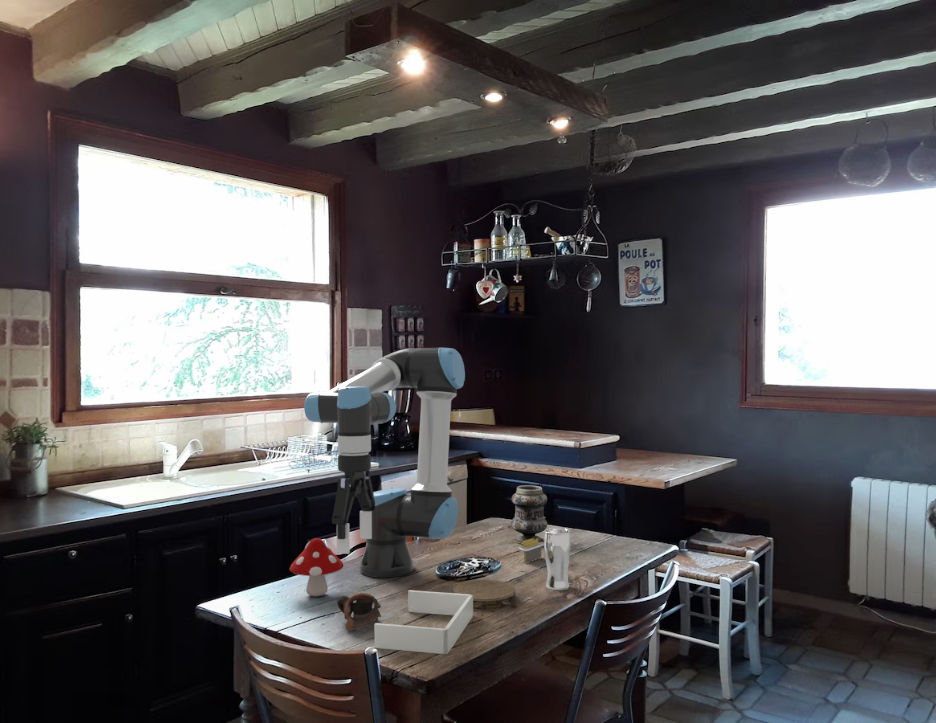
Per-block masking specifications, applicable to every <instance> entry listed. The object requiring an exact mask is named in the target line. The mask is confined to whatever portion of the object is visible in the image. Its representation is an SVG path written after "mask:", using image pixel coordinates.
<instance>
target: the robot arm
mask: <svg viewBox="0 0 936 723" xmlns="http://www.w3.org/2000/svg"><path fill="white" fill-rule="evenodd" d="M465 378H466V372H465V363H464V361H463V358H462V355H461V354H460V353H459V352H458V351H457V350H456V349H455V348H450V347H441V346H440V347H421V348H417V347H416V348H415V347H414V348H413V347H409V348H408V347H407V348H404V349H403V348H402V349H400V350H397V351H394V352H392V353H389V354H387V355H384V356H382V357H380V358H379V359H377V360H375V362H373V363H372V365H371V367H370V368H368V369H366V370H364V371H363V372H361V373H358V374H357V375H355V376H354V377H352V378H350V379H348V380H346V381H344V382H343V383H341V384H339V385H337V386H335V387H333V388H331V389H330V390H328V391H324V392H322V391H318V392H310V393H309V394H308V395H307V396H306V398H305V401H304V404H303V409H304V414H305V417H306V419H307V420H309V422H312V423H320V424H324V423H325V424H337V439H336V441H335V442H336V443H337V452H338V453H339V454H338V455H337V470H338V471H339V472H341V473H342V472H343V473H344V474H343V478H338V479H337V487H336V488H337V489H336V496H335V500H334V501H335V502H334V506H333V511H332V517H331V523H332V525H336V554H345V555H346V554H347V555H350V523H348V522H349V518H350V515H351V510H352V506H353V504H354V500H355V499H357V501H358V504H359V506H360V509H361V510H360V511H359V539H361V540H365V541H366V545H365V548H364V552H363V555H362V557H361V561H360V573H361V574H362V575H364V576H366V577H371V578H395V577H396V578H397V577H401V576H405V575H408V574H410V573H412V572H413V570H414V561H413V559H412V557H413V556H412V554H411V552H410V551H411V550H410V549H409V546H408V540H407V539H408V538H407V537H411V538H412V537H413V538H423V539H430V540H436V539H438V540H445V539H447V538H448V537H450V536H451V534H452V533H453V532H454V530H455V527H456V526H457V522H458V518H459V511H460V510H459V505H458V504H459V502H458V500H457V499H456V497H453V496H452V494H453V493H452V492H453V490H452V489H451V488H450V487H449V485H448V471H449V470H448V468H449V450H450V430H451V428H450V427H451V426H450V424H451V410H452V400H453V399H454V398H456V397H457V395H458V394H457V392H458V391H457V390H458V389H461V388H463V386H464V385H465V383H464V382H465V381H466V379H465ZM398 388H412V389H416V395H417V396H418V397H419V398H420V417H419V418H420V420H419V436H418V437H419V438H418V455H417V473H416V483H415V484H414V485H413V486H412V487H411V488H410V494H408V491H407V489H406V488H402V487H398V488H388V489H381V490H377V491H374V488H373V486H372V485H373V484H372V480H371V471H370V470H371V469H372V461H371V460H372V455H371V454H370V452H371V451H372V435H371V434H372V433H371V425H379V424H380V425H381V424H385V423H387V422H390V420H392V419H393V417H394V416H395V414H396V412H397V411H396V410H397V405H396V401H395V398H393V397H392V395H391V394H389V393H386V392H389V391H390V392H391V391H394V390H395V389H398Z"/></svg>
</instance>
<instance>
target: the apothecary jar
mask: <svg viewBox="0 0 936 723" xmlns="http://www.w3.org/2000/svg"><path fill="white" fill-rule="evenodd" d="M511 502H512V503H513V504H514V505H515V506H514V508H515V511H514V512H515V513H514V517H513V518H512V520H511V522H510V525H511V528H512V529H513V530H514V531H515V532H518V533H520V534H522V535H520V536H517V537H516V538H515V539H514V542H515V541H516V542H519V543H523V541H526V540H529V539H532V538H534V540H536V539H538V542H543V539H544V538H543V537H540V536H539V535H537V534H541V533H542V532H545V530H547V529H548V521H547V520H546V519H545V516H544V515H545V514H544V509H545V508H544V506H545V505H546V504H547V502H548V497H547V495H546V494H545V493H544V491H543V488H542V486H537V485H519V486H517V487H516V492H515V493H514V494H513V495H512V496H511ZM516 542H515V543H516ZM519 543H518V544H519Z"/></svg>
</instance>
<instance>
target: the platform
mask: <svg viewBox="0 0 936 723" xmlns="http://www.w3.org/2000/svg"><path fill="white" fill-rule="evenodd" d="M542 547H544V542H538V539H536V540H534V538H532V539H529V540H526V541H523V544H521V545H519V547H518V549H519V550H521V551H523V562H525V561H526V562H525V564H526V563H527V562H530V561H532V560H535V559H538V558H540V557H541V558H542ZM541 558H540V559H541ZM538 560H539V559H538ZM535 561H536V560H535ZM532 562H533V561H532ZM530 563H531V562H530ZM527 564H528V563H527Z"/></svg>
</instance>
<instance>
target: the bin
mask: <svg viewBox="0 0 936 723" xmlns="http://www.w3.org/2000/svg"><path fill="white" fill-rule="evenodd" d="M407 611H408V613H419V614H430V615H431V614H432V615H442V616H443V615H446V616H447V615H448V616H452V618H451V619H450V621H449V622H448V623H447V625H446V626H445V627H444V628H441V627H428V626H415V625H405V624H393V623H392V624H391V623H380V622H375V623H374V649H383V650H393V651H394V650H396V651H404V652H405V651H406V652H417V653H418V652H419V653H427V654H428V653H429V654H438V655H439V654H440V655H448V654H449V652H450V651H451V649H452V648H453V647H454V645H455V644H456V642H457V641H458V639H459V638H460V637H461V635H462V633H463V632H464V630H465V628H467V625H468V624H469V623H470V621H471V620H472V619H473V617H474V609H473V595H470V594H456V593H453V592H441V591H440V592H438V591H424V590H413V589H412V590H410V589H409V590H408V591H407Z"/></svg>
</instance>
